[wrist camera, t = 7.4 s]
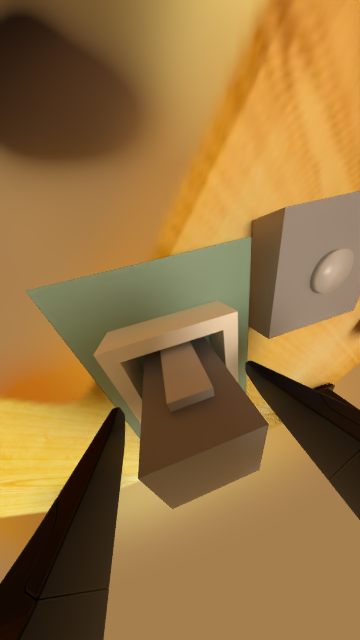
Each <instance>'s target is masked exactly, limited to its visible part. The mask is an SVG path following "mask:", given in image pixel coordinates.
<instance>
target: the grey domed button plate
mask: <svg viewBox="0 0 360 640" xmlns="http://www.w3.org/2000/svg"><path fill="white" fill-rule="evenodd" d="M359 296H360V191H357V192H353V193H348V194H344V195H339V196H335V197H330V198H325V199H321V200H316V201H312V202H307V203H303V204H298V205H294V206H289V207H285V208H283V209H280V210H278V211H275V212H273V213H270V214H268V215H265V216H263V217H260V218H258V219H255V220H253V222H252V248H251V275H250V302H249V327H251V328H253V329H254V330H256V331H257V332H259V333H260V334H262V335H263V336H265V337H267V338H268V339H270V338H273V337H276V336H279V335H282V334H284V333H287V332H290V331H293V330H296V329H299V328H302V327H305V326H308V325H311V324H314V323H317V322H320V321H323V320H326V319H329V318H332V317H335V316H338V315H341V314H344V313H347V312H350V311H353V310H354V307H355V305H356V303H357V300H358V298H359Z"/></svg>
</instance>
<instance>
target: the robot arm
mask: <svg viewBox="0 0 360 640" xmlns="http://www.w3.org/2000/svg"><path fill="white" fill-rule="evenodd" d="M245 371H246V374H247V375H248V377H249V378H250V380H251V381H252V383H253V384H254V386H255V387H256V389H257V390H258V392H259V393H260V395H261V396H262V397H263V399H264V400H265V401H266V402H267V404H268V405H269V406H270V407H271V409H272V410H273V411H274V412H275V414H276V415H277V416H278V417H279V419H280V420H281V421H282V422H283V424H284V425H285V426H286V428H287V429H288V430H289V431H290V432H291V434H292V435H293V436H294V438H295V439H296V440H297V441H298V443H299V444H300V445H301V446H302V448H303V449H304V450H305V451H306V453H307V454H308V455H309V456H310V458H311V459H312V460H313V461H314V463H315V464H316V465H317V467H318V468H319V469H320V470H321V471H322V473H323V474H324V475H325V477H326V478H327V479H328V480H329V482H330V483H331V484H332V486H333V487H334V488H335V489H336V491H337V492H338V493H339V494H340V496H341V497H342V498H343V499H344V501H345V502H346V503H347V504H348V506H349V507H350V508H351V510H352V511H353V512H354V513H355V515H356V516H357V517H358V518H359V520H360V410H359V409H357V408H356V407H355V406H353V405H352V404H350V403H349V402H347V401H346V400H345V399H343V398H342V397H340V396H339V395H337V394H336V393H334V392H333V389H334V387H335V386H334V385H333V384H329V385H326V386H324V387H321V388H319V389H316V390H314V389H311V388H309V387H307V386H305V385H303V384H301V383H299V382H296V381H294V380H292V379H290V378H288V377H286V376H284V375H281V374H279V373H277V372H275V371H273V370H271V369H269V368H266V367H264V366H262V365H260V364H258V363H256V362H253V361H248V362H246V363H245ZM124 445H125V414H124V412H123V411H122V409H121V408H120V407H117V408H114V409H112V410H111V412H110V413H109V415H108V417H107V418H106V420H105V421H104V423H103V425H102V426H101V428H100V429H99V431H98V433H97V434H96V436H95V437H94V439H93V441H92V442H91V444H90V445H89V447H88V449H87V450H86V452H85V453H84V455H83V457H82V458H81V460H80V461H79V463H78V465H77V466H76V468H75V469H74V471H73V473H72V474H71V476H70V477H69V479H68V481H67V482H66V484H65V485H64V487H63V489H62V490H61V492H60V493H59V495H58V498H56V500H55V501H54V503H53V505H52V506H51V508H50V509H49V511H48V513H47V514H46V516H45V517H44V519H43V520H42V522H41V524H40V525H39V527H38V528H37V530H36V531H35V533H34V534H33V536H32V537H31V539H30V540H29V542H28V543H27V545H26V546H25V548H24V549H23V551H22V552H21V554H20V556H19V557H18V558H17V560H16V561H15V563H14V564H13V566H12V567H11V569H10V570H9V572H8V573H7V574H6V576H5V578H4V579H3V580H2V582H1V583H0V640H103V638H104V629H105V619H106V611H107V602H108V593H109V583H110V573H111V564H112V555H113V546H114V537H115V528H116V518H117V509H118V501H119V492H120V483H121V474H122V465H123V456H124Z"/></svg>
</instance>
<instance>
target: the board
mask: <svg viewBox="0 0 360 640" xmlns="http://www.w3.org/2000/svg"><path fill="white" fill-rule="evenodd" d="M250 264H251V237H248V238H244V239H240V240H235V241H231V242H227V243H223V244H219V245H215V246H210V247H206V248H202V249H198V250H194V251H190V252H185V253H181V254H177V255H173V256H169V257H165V258H160V259H156V260H152V261H148V262H144V263H140V264H136V265H131V266H127V267H123V268H119V269H115V270H110V271H106V272H102V273H98V274H94V275H90V276H86V277H81V278H77V279H73V280H69V281H65V282H60V283H57V284H52V285H48V286H44V287H40V288H36V289H32V290H27V291H26V292H27V294H28V295H29V296H30V297H31V299H32V300H33V301H34V303H35V304H36V305H37V306H38V307H39V309H40V310H41V312H42V313H43V314H44V315H45V317H46V318H47V319H48V321H49V322H50V323H51V324H52V325H53V327H54V328H55V330H56V331H57V332H58V334H59V335H60V336H61V337H62V339H63V340H64V341H65V342H66V344H67V345H68V346H69V348H70V349H71V350H72V352H73V353H74V354H75V355H76V357H77V358H78V359H79V360H80V362H81V363H82V364H83V366H84V367H85V368H86V369H87V371H88V372H89V374H90V375H91V376H92V377H93V379H94V380H95V381H96V383H97V384H98V385H99V386H100V388H101V389H102V390H103V392H104V393H105V394H106V395H107V397H108V398H109V399H110V401H111V402H112V403H113V404H114V406H115V407H116V408H117V407H120V408H121V409H122V411H123V412H124V414H125V420H126V421H127V423H128V424H129V425H130V426H131V428H132V429H133V430H134V432H135V433H136V434H137V435H138V437H139V438H140V433H141V414H142V394H143V375H144V356H145V355H146V354H149V353H152V352H156V351H159V350H162V349H165V348H168V347H171V346H175V345H178V344H181V343H184V342H187V341H190V340H193V339H197V338H200V337H203V336H204V337H205V339H206V340H207V342H208V343H209V344H210V346H211V347H212V348H213V350H214V351H215V352H216V354H217V355H218V356H219V358H220V359H221V361H222V362H223V363H224V365H225V366H226V367H227V369H228V370H229V371H230V373H231V374H232V375H233V377H234V378H235V380H236V381H237V382H238V384H239V385H240V386H241V388H242V389H243V390H244V392H245V393H246V375H247V374H246V371H245V363H246V362H247V347H248V319H249V292H250Z"/></svg>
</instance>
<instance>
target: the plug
mask: <svg viewBox="0 0 360 640" xmlns="http://www.w3.org/2000/svg"><path fill="white" fill-rule="evenodd" d="M268 425H269V424H268V423H267V422H266V420H265V419H264V418H263V416H262V415H261V414H260V412H259V411H258V409H257V408H256V407H255V405H254V404H253V403H252V401H251V400H250V399H249V397H248V396H247V394H246V393H245V392H244V390H243V389H242V388H241V386H240V385H239V384H238V382H237V381H236V380H235V378H234V377H233V375H232V374H231V373H230V371H229V370H228V369H227V367H226V366H225V365H224V363H223V362H222V361H221V359H220V358H219V356H218V355H217V354H216V352H215V351H214V350H213V348H212V347H211V346H210V344H209V343H208V342H207V340H206V339H205V337H204V336H203V337H200V338H197V339H193V340H190V341H187V342H184V343H181V344H178V345H175V346H171V347H168V348H165V349H162V350H159V351H156V352H152V353H149V354H146V355H145V356H144V375H143V394H142V414H141V433H140V452H139V472H138V479H139V480H140V481H141V482H143V483H144V484H145V485H146V486H147V487H148V488H150V490H152V491H153V492H154V493H155V494H156V495H157V496H158V497H159V498H161V499H162V500H163V501H164V502H165V503H166V504H167V505H169V506H170V507H171V508H172V509H174V508H176V507H178V506H180V505H183V504H185V503H187V502H189V501H191V500H194V499H196V498H198V497H200V496H203V495H205V494H207V493H209V492H211V491H214V490H216V489H218V488H220V487H222V486H225V485H227V484H229V483H231V482H234V481H236V480H238V479H240V478H242V477H245V476H247V475H249V474H251V473H253V472H256V471H258V470H259V468H260V463H261V459H262V454H263V449H264V444H265V439H266V435H267V430H268Z"/></svg>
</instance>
